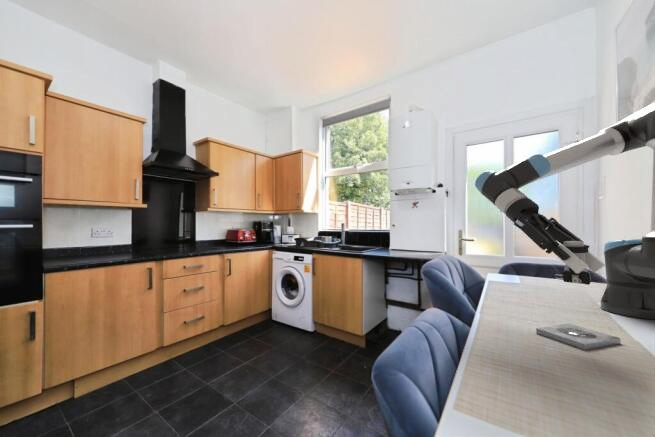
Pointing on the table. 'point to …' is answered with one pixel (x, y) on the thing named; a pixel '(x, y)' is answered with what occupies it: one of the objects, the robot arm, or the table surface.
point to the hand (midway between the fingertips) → (591, 269)
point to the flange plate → (578, 336)
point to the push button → (581, 249)
